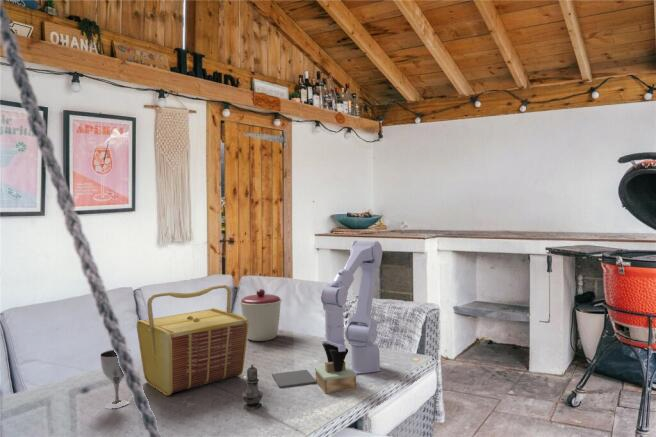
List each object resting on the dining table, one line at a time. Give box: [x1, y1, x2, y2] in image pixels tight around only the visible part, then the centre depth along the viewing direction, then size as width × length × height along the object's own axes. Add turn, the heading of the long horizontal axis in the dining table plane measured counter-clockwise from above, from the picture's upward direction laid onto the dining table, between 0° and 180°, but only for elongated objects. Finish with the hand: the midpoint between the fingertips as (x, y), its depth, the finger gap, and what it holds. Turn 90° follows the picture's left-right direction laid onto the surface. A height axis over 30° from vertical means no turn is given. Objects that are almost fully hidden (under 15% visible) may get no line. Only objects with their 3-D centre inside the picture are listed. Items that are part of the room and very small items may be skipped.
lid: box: [314, 361, 358, 380], centre depth 156 cm, size 10×10×4 cm
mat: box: [271, 369, 317, 389], centre depth 162 cm, size 12×12×1 cm
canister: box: [239, 288, 283, 342], centre depth 213 cm, size 18×18×21 cm
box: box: [315, 371, 357, 394], centre depth 156 cm, size 10×10×4 cm
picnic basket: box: [136, 284, 248, 396], centre depth 163 cm, size 29×26×30 cm
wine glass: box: [100, 349, 131, 404], centre depth 144 cm, size 8×8×15 cm
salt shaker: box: [241, 364, 264, 411], centre depth 141 cm, size 6×6×12 cm
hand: (335, 368), depth 156 cm, fingers open, 5 cm apart
